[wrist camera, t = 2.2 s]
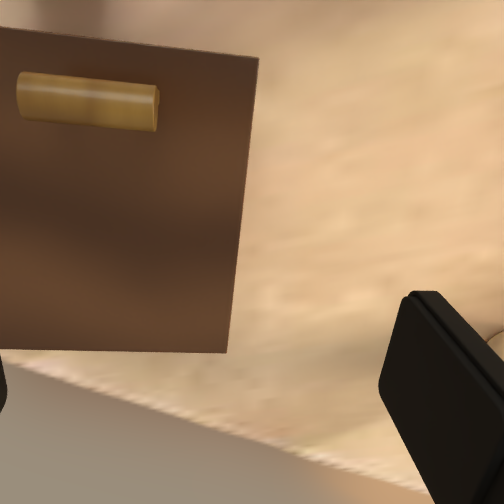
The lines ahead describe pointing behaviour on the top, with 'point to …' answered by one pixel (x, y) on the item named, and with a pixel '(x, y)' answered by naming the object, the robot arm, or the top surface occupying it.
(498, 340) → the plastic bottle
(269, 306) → the top surface
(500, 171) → the top surface
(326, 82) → the top surface
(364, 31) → the top surface
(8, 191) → the lid
